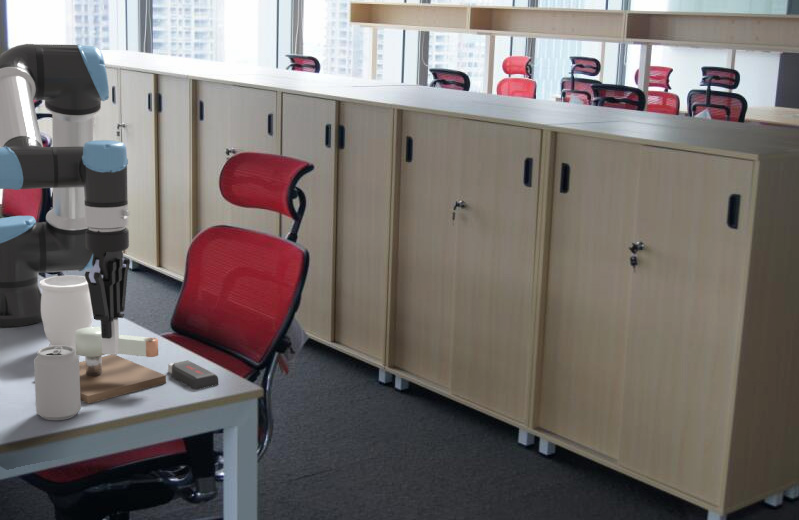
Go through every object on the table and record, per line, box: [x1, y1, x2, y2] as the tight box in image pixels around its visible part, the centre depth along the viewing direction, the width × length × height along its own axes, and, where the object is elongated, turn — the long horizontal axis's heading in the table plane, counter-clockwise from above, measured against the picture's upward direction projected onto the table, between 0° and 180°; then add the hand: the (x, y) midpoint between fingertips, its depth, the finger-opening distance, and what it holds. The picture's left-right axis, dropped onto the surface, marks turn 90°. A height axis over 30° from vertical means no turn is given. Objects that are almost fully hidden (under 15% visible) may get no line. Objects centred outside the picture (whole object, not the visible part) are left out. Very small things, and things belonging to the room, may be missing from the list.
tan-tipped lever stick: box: [75, 326, 159, 358], centre depth 200 cm, size 16×6×4 cm, turn 78°
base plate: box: [79, 354, 167, 405], centre depth 203 cm, size 18×17×2 cm
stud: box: [84, 355, 103, 376], centre depth 202 cm, size 3×3×4 cm
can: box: [33, 345, 82, 421], centre depth 184 cm, size 8×8×12 cm
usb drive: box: [167, 360, 219, 391], centre depth 206 cm, size 5×12×3 cm, turn 41°
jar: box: [39, 275, 93, 353], centre depth 220 cm, size 11×10×15 cm
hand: (110, 353), depth 194 cm, fingers closed
